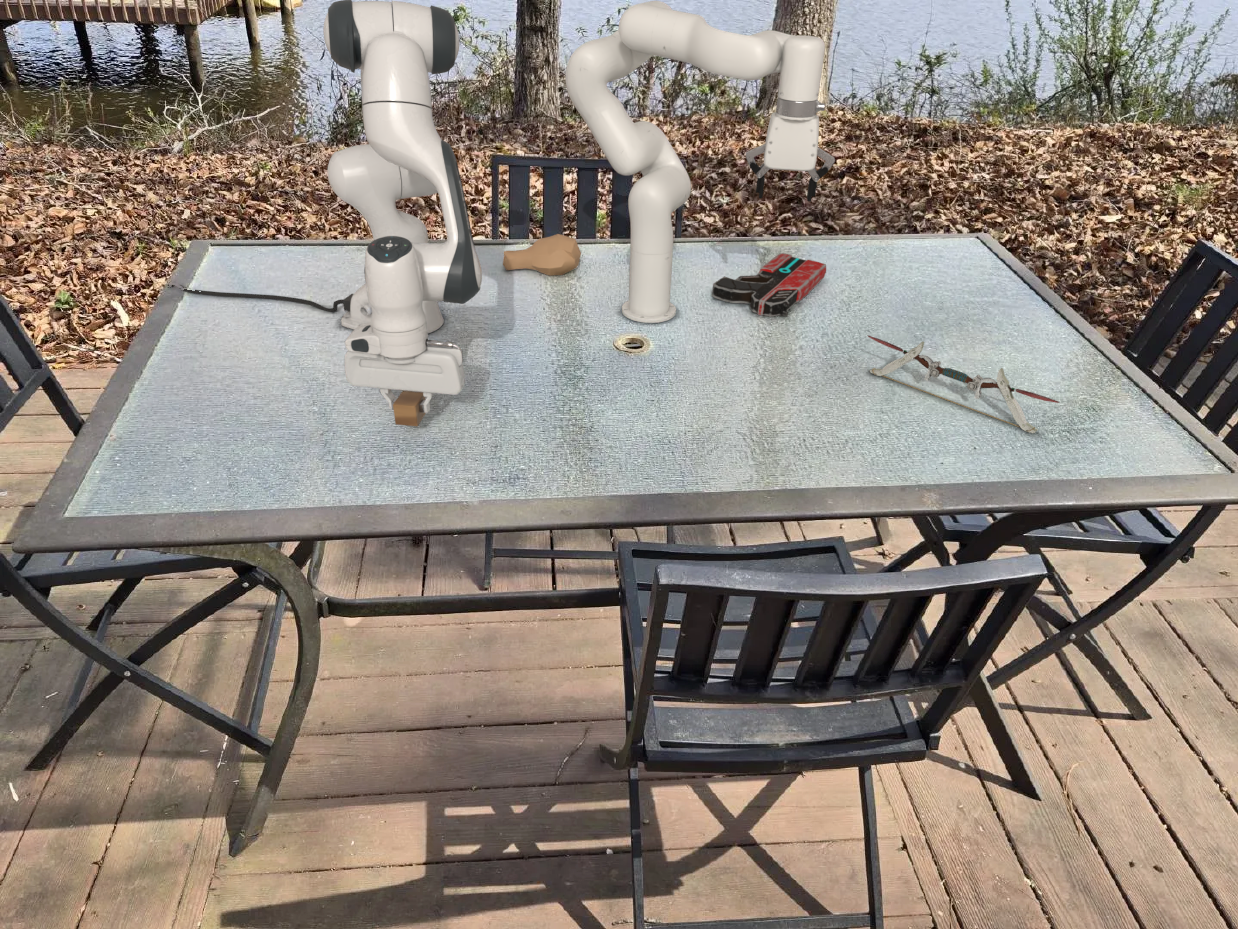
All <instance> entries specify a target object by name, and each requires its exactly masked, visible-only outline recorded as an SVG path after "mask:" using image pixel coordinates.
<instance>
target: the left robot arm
mask: <svg viewBox="0 0 1238 929" xmlns="http://www.w3.org/2000/svg"><path fill="white" fill-rule="evenodd" d="M322 33H323V40H324V44H325V46H326V48H327V51H328V53H329V55H330V58H331V60H332V61H333V62H334V63H335V64H337V65H338V66H339V67H341V68H344V69H347V70H349V71H350V72H351V73H353V74H355V73H356V70H360V87H361V88H360V89H361V107H362V108H361V109H362V121H363V128H364V133H365V138H366V141H367V142H368V143H367V144H358V145H353V146H349V147H346V148H343V149H340V150H337V151H334V152H333V153H332V155H331V157H330V158H329V161H328V164H327V170H326V171H327V179H328V180H327V181H328V183H329V186H330V188H331V189H332V192H334V194H335V195H336V196H337V197H338V198H339V199H340V200H342V201H343V202H345V203H347V204H348V205H350V206H351V207H353V208H354V209H355V210H357V211H358V212H359V213H360V214H361V216H362V217H363V218H364V220H365V221H366V222H367V224H368V226H369V228H370V231H371V235H372V241H371V242H370V243H369V244H367V246H366V248H365V255H364V256H365V257H364V268H363V269H364V270H363V271H364V272H363V273H364V281H365V283H364V284H363V285H362V286H360V287H359V288H358V289H356V290H355V292H354V293H351V294H349V295H347V297H345V298H343V299H336V300H335V301H334V302H333V304H332V307H331V308H328V307H326V306H323V305H321V304H319V303H317V302H315V301H312V300H308V299H304V298H298V297H290V296H285V295H275V294H262V293H261V294H260V293H259V294H258V293H245V292H244V293H242V292H226V291H225V292H223V291H211V290H199V289H195V291H192V290H187V289H184V290H183V292H185V293H188V294H189V293H190V294H193V295H194V294H195V295H200V296H201V295H203V296H214V297H223V298H224V297H225V298H243V299H259V300H260V299H262V300H274V301H276V300H277V301H284V302H292V303H298V304H304V305H308V306H312V307H314V308H316V309H319V310H322V311H324V312H328V313H335V312H337V311H338V306H339V305H343V311H344V312H346V313H344V314H343V316H342V317H341V320H340V324H341V326H342V327H344V328H347V329H350V330H352V331H351V332H350V334H349V335H348V336H347V337H346V339H345V341H344V346H345V349H346V350H347V352H346V353H345V354H344V359H343V360H344V361H343V362H344V374H345V379H346V381H347V382H348V384H350V386H352V387H359V388H360V387H361V388H372V389H373V388H374V389H379V391H380V394H381V396H382V397H383V398H384V399H385V400H386V402H387V403H388V409H389V410H390V411H394V409H393V404H394V402H395V401H396V399H397V398H398V397H399V396H396V395H395V394H394V393H393V391H392V390H395V391H414V392H423V396H424V397H425V400H421V402H420V403H419V411H420V412H422V413H426V414H429V412H430V410H431V399H432V398H433V396H434V394H442V395H452V396H457V395H459V394H460V393H461V392H462V390H463V389H464V388H465V385H466V380H467V379H466V373H465V368H464V365H463V364H464V353H463V352H464V351H463V349H462V348H461V346H459V345H457V344H455V342H453V341H449V340H438V339H429V334H430V333H431V334H432V333H434V332H436V331H437V330H439V329H441V327H442V326H443V325H444V323H445V320H444V317H443V314H442V312H441V310H440V307H439V303H438V302H444V303H451V304H461V305H464V304H466V303H467V302H469V301H470V300H472V299H473V298H474V297H475V296H476V295H477V294H478V293H479V292H480V291H481V286H482V281H483V272H482V266H481V262H480V261H481V260H480V258H479V255H478V253H477V250H476V247H475V242H474V238H473V233H472V229H471V228H472V226H471V223H470V217H469V212H468V207H467V202H466V198H465V197H466V196H465V193H464V187H463V183H462V178H461V174H460V169H459V165H458V161H457V157H456V155H455V151H454V150H453V148H452V146H451V144H450V143H449V142H447V141H445V140H443V139H442V138H441V136H440V134H439V133H438V131H437V129H436V126H435V122H434V118H433V104H432V103H433V102H432V91H431V83H430V75H429V73H430V74H431V75H440V74H445V73H448V72H450V70H452V68H454V66H455V64H456V60H457V58H458V56H459V52H460V34H459V30H458V27H457V25H456V22H455V18H454V17H453V16H452V14H451V13H450V12H449V10H447V9H444V8H442V7H438V6H435V5H430V6H426V5H422V4H419V3H418V4H417V3H412V2H406V1H399V0H391V1H385V0H362V1H361V0H359V1H358V0H357V1H353V0H337V1H336V0H335V1H333V2H332V3H331V4H330V6H329V7H328V8H327V13H326V15H325V17H324V22H323V32H322ZM436 194H438V198H439V202H440V207H441V212H442V217H443V223H444V227H445V231H446V237H447V239H446V240H445V241H444V242H436V243H435V242H429V232H428V229H427V226H426V225H425V223H424V222H423V221H422V220H421V219H420V218H419V217H417V216H415V215H414V214H413V215H412V214H410V213H408V212H404V211H402V210H399V209H397V205H396V202H397V201H399V200H404V199H411V198H419V197H428V196H432V195H436ZM167 286H169V283H168V284H167ZM199 291H201V292H199Z"/></svg>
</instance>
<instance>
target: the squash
mask: <svg viewBox="0 0 1238 929" xmlns="http://www.w3.org/2000/svg"><path fill="white" fill-rule="evenodd" d="M581 255H582V252H581V250H580V247H579V245H578V242H577V240H576V238H573V237H570V236H567V235H564V234H560V233H556V234H554V235H550V236H546V237H542V238H539V239H537V240H536V241H535V242H534V243H533V244H532V245H531V246H529V247H527V248H525V249H518V250H504V251H503V259H502V266H503V267H504V269H505V270H506V271H513V270H522V269H528V270H534V271H536V272H539V273H540V274H543V275H546V276H563V275H565V274H568V273H569V272H571V271H573V270H575V269H577V268H578V266H579V265H580V260H581Z"/></svg>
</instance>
